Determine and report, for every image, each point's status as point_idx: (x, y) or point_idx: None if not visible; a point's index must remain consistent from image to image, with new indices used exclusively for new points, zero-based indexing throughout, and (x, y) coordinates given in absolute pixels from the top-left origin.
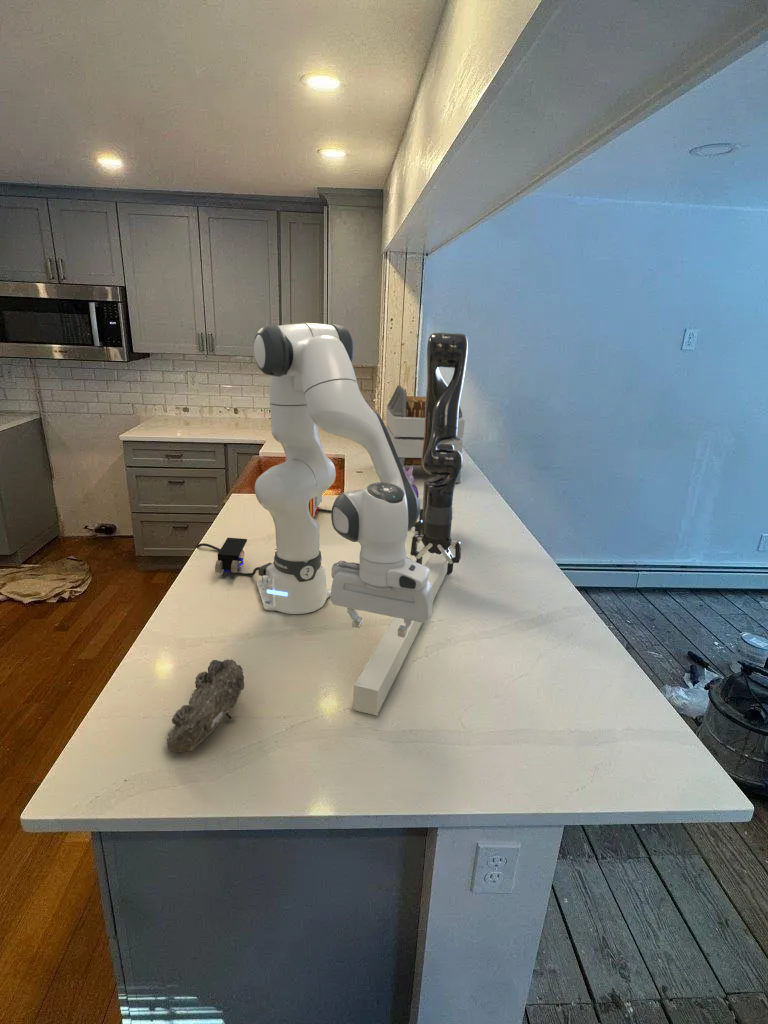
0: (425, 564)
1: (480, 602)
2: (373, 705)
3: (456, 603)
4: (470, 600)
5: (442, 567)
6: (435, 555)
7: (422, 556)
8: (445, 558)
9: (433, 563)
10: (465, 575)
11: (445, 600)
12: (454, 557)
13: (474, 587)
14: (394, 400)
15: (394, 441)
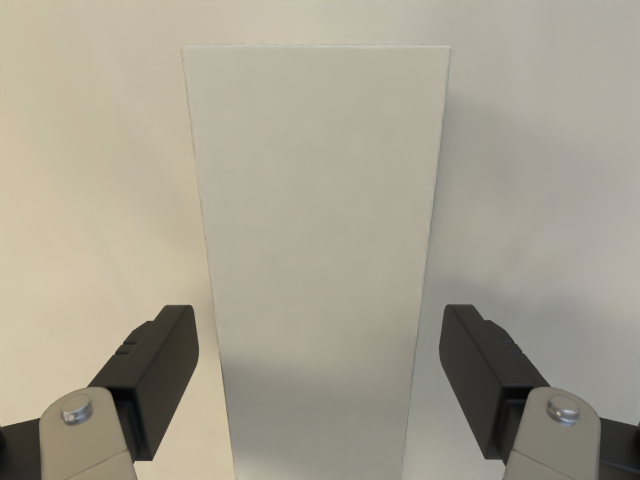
0: (228, 415)
1: (628, 402)
2: None
3: None
4: None
5: (408, 387)
6: (261, 137)
7: (132, 387)
8: (421, 184)
9: (302, 372)
10: (567, 45)
11: (429, 440)
12: (622, 477)
13: (620, 241)
14: None
15: None
